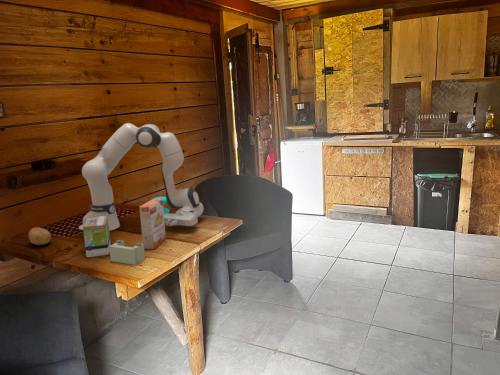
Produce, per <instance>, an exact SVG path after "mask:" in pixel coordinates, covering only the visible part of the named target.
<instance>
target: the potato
mask: <svg viewBox="0 0 500 375" xmlns="http://www.w3.org/2000/svg"><path fill="white" fill-rule="evenodd" d="M51 239H52V234H51V233H50V231H49V230H47V229H45V228H41V227H33V228H31V229H30V230H29V231H28V240H29V241H30V243H31V244H33V245H36V246H42V245H43V246H44V244H45V245H47V244H48V243H50V242H51V241H50V240H51Z"/></svg>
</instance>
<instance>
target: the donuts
mask: <svg viewBox="0 0 500 375" xmlns="http://www.w3.org/2000/svg"><path fill="white" fill-rule="evenodd" d="M152 199H162V200H163V210H164V214H166V213H170V209H169V208H167V207H164V205H166V204H167V201H166V196H158V197H157V196H156V197H153V198H152Z"/></svg>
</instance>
